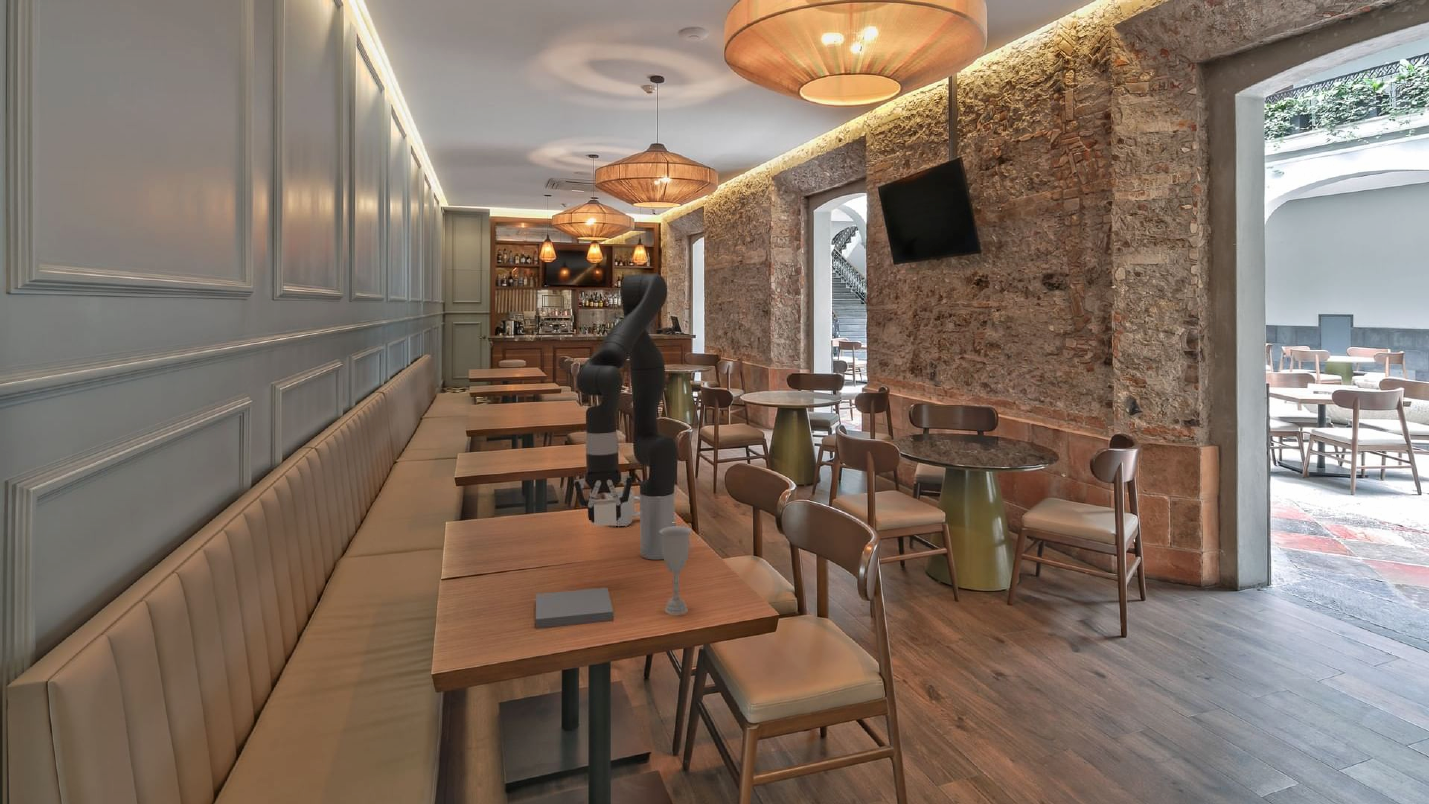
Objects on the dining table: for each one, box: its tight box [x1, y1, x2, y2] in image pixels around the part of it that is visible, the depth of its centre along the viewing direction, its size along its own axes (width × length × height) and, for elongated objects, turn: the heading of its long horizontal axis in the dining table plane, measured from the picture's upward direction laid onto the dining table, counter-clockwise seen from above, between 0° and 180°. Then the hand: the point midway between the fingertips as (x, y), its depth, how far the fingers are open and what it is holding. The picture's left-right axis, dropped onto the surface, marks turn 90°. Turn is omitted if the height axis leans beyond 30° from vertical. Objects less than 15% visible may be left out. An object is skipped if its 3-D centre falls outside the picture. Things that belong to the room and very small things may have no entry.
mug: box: [604, 489, 640, 528], centre depth 224 cm, size 13×9×10 cm
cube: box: [593, 498, 616, 527], centre depth 170 cm, size 5×5×5 cm
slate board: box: [535, 587, 614, 629], centre depth 157 cm, size 16×14×2 cm
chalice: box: [659, 525, 692, 616], centre depth 157 cm, size 7×7×18 cm
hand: (604, 520), depth 170 cm, fingers closed on cube, 5 cm apart
